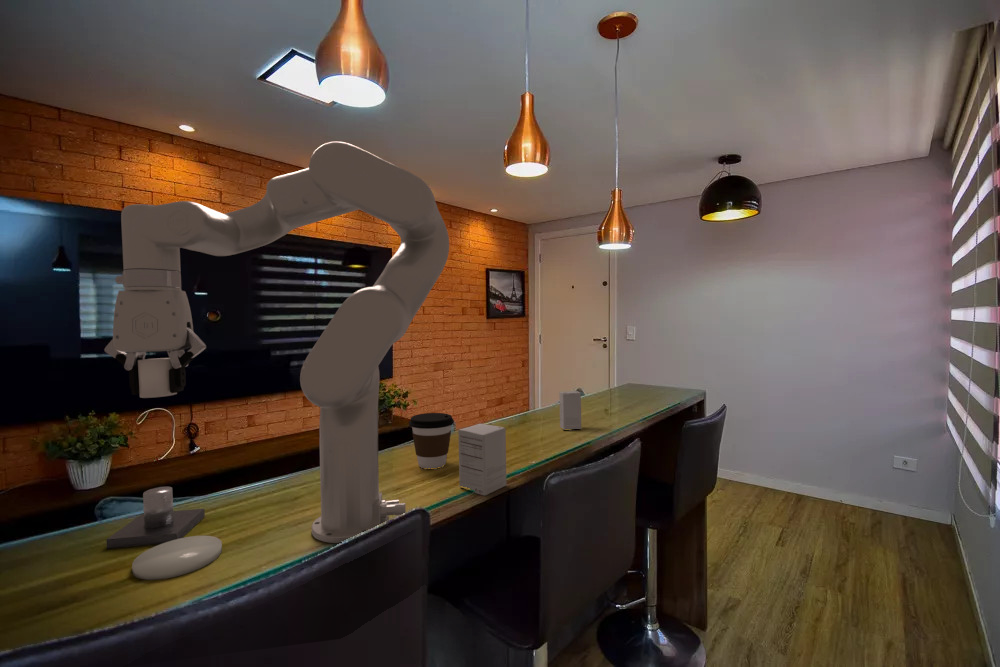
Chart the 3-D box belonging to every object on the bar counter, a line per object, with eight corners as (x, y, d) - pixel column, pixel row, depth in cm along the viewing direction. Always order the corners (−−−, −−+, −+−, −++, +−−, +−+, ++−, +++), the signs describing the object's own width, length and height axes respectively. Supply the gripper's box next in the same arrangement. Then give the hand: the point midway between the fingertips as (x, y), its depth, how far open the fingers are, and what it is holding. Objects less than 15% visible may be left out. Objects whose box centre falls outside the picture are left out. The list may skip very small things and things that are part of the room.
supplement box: (481, 479, 103) (480, 422, 103) (507, 486, 99) (506, 427, 98) (458, 488, 98) (457, 428, 97) (484, 496, 93) (483, 434, 92)
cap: (167, 396, 75) (165, 359, 75) (132, 398, 74) (130, 361, 74) (185, 391, 81) (183, 357, 81) (153, 393, 80) (151, 358, 80)
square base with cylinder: (204, 516, 85) (203, 478, 84) (177, 542, 75) (175, 499, 75) (143, 521, 83) (141, 482, 83) (106, 548, 73) (105, 504, 73)
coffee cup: (456, 458, 119) (455, 412, 118) (453, 472, 108) (452, 421, 107) (413, 459, 118) (412, 412, 118) (405, 473, 107) (404, 422, 107)
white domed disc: (233, 538, 76) (232, 532, 76) (203, 574, 65) (202, 567, 65) (158, 545, 74) (157, 539, 74) (114, 583, 63) (114, 576, 63)
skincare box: (577, 427, 151) (577, 390, 151) (582, 430, 147) (581, 392, 147) (559, 428, 150) (558, 391, 150) (563, 431, 146) (563, 393, 146)
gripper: (78, 281, 71) (84, 399, 72) (199, 280, 74) (203, 393, 75) (110, 285, 79) (115, 391, 79) (219, 284, 81) (223, 387, 82)
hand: (158, 391), depth 77 cm, fingers closed on cap, 4 cm apart
